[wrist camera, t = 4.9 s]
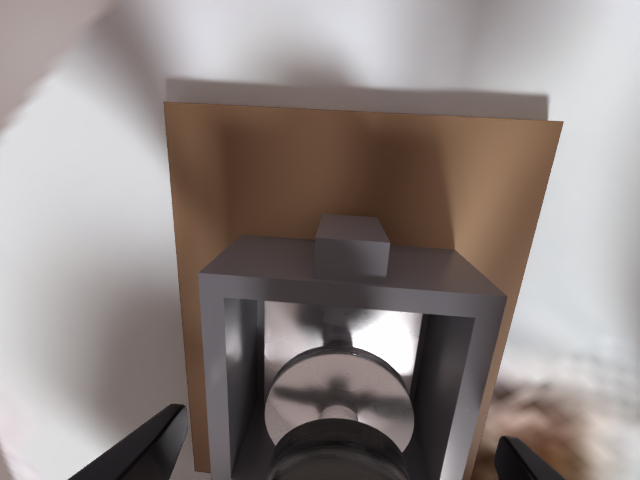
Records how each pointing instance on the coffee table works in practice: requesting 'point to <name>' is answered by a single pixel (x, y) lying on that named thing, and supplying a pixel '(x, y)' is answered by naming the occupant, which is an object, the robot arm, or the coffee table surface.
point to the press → (353, 292)
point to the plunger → (338, 391)
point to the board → (352, 197)
